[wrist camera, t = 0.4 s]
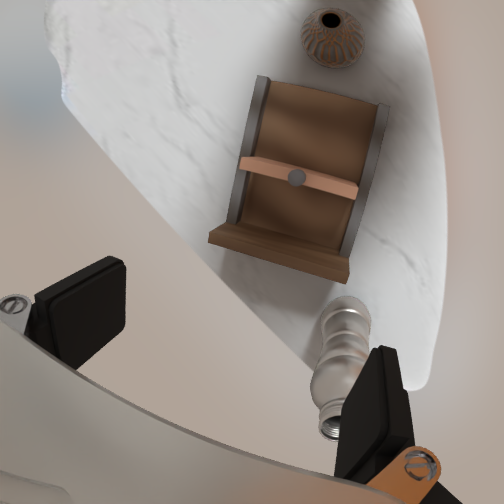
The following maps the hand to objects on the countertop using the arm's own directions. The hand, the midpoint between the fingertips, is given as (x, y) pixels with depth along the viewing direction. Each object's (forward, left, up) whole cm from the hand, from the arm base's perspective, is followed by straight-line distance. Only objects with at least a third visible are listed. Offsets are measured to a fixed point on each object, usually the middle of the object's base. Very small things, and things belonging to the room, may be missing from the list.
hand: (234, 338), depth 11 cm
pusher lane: (-4, -2, -29) cm, 29 cm away
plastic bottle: (+12, +8, -29) cm, 33 cm away
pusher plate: (-4, -2, -29) cm, 29 cm away
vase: (-20, -2, -29) cm, 35 cm away
